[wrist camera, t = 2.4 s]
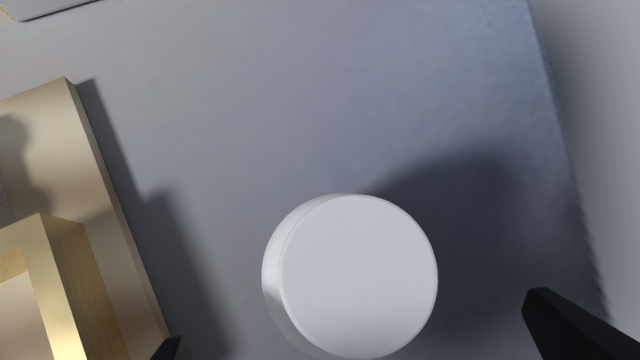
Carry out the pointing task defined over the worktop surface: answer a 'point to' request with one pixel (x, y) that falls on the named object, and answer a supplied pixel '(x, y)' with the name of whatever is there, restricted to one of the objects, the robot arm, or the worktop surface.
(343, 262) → the supplement bottle
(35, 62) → the worktop surface
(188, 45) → the worktop surface
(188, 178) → the worktop surface
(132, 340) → the board
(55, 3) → the medicine bottle
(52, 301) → the bottle holder fixture
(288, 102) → the worktop surface
